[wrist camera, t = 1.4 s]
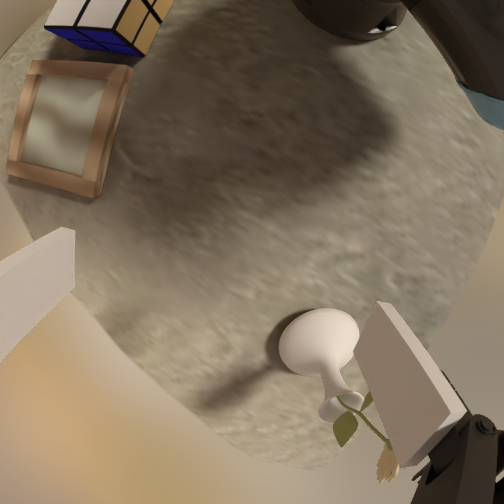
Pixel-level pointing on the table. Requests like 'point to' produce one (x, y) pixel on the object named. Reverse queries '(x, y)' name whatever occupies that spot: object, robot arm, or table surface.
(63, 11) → the puzzle cube
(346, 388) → the flower in vase
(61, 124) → the wooden picture frame
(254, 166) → the table surface
